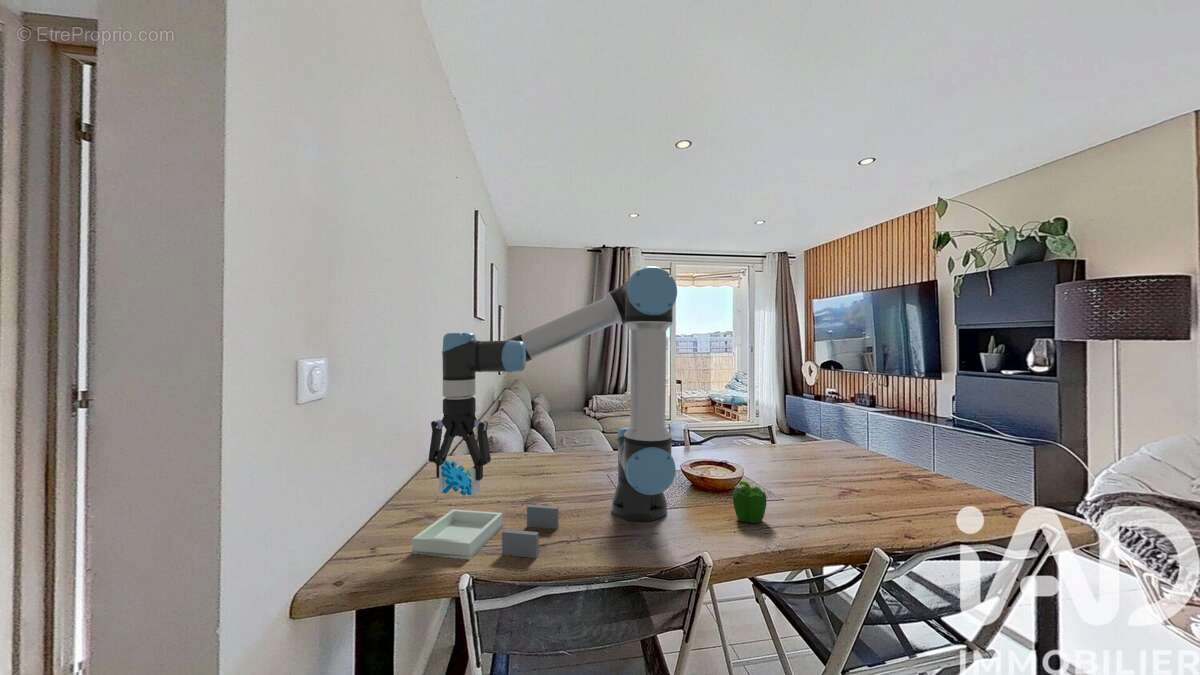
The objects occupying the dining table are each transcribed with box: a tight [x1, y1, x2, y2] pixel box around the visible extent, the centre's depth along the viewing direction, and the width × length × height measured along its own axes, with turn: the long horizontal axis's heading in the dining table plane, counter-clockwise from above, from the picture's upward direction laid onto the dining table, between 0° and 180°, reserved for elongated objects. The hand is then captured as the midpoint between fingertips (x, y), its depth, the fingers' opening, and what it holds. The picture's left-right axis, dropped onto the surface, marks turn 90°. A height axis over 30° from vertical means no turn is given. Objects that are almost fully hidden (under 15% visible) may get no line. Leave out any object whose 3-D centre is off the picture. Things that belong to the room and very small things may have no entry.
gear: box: [441, 460, 472, 497], centre depth 105 cm, size 11×6×10 cm
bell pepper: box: [732, 480, 767, 524], centre depth 114 cm, size 8×8×10 cm
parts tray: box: [411, 509, 504, 561], centre depth 105 cm, size 14×17×4 cm
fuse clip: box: [501, 504, 560, 559], centre depth 104 cm, size 8×16×5 cm, turn 168°
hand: (459, 492), depth 105 cm, fingers closed on gear, 8 cm apart
